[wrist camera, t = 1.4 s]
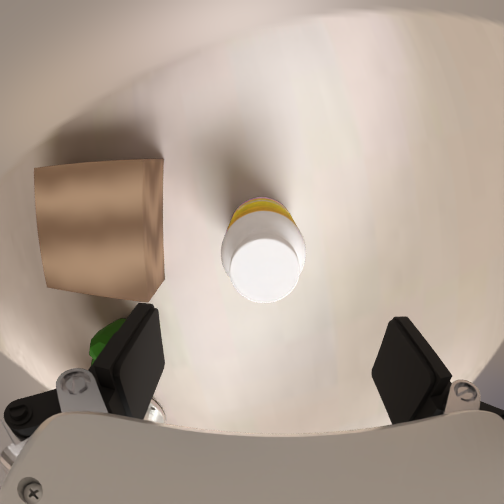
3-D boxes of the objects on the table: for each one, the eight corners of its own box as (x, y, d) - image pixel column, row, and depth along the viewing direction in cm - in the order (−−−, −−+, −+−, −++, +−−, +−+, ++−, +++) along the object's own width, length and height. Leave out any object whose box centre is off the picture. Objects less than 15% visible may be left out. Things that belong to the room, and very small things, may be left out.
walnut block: (164, 279, 33) (148, 302, 27) (71, 269, 33) (47, 287, 27) (163, 158, 29) (142, 159, 23) (64, 164, 29) (34, 168, 23)
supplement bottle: (224, 203, 30) (202, 233, 18) (285, 190, 30) (306, 211, 17) (238, 261, 32) (228, 322, 20) (296, 249, 32) (320, 305, 19)
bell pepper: (163, 364, 37) (142, 414, 28) (111, 349, 37) (83, 394, 27) (165, 317, 35) (139, 366, 25) (108, 302, 34) (72, 343, 25)
